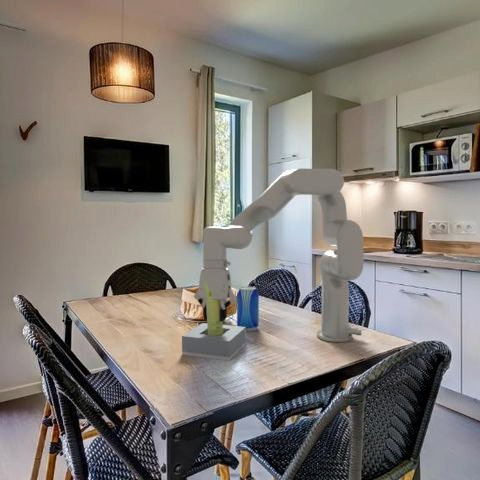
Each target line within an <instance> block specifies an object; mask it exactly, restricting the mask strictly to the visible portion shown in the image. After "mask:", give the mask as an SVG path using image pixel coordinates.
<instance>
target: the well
mask: <svg viewBox="0 0 480 480" xmlns="http://www.w3.org/2000/svg"><path fill="white" fill-rule="evenodd" d="M246 332H247V331H246V327H240V326H237V325H228V324H223V335H222V336H213V335H208V328H207V322H202V323H200V324H199V325H198V326H197V325H196V326H195V327H194V328H192V329H191V330H189V331H188V332H186V333H184V334H183V335H182V336H181V355H182V356H188V357H190V356H191V357H197V358H203V359H204V358H206V359H214V360H220V361H221V360H222V361H229V362H230V361H231V360H232V359H233V357H235V355H237V353H239V352H240V351H241V350H242V349H243V348H244V347H245V345H246V343H247V342H246V339H247V337H246V335H247V333H246Z"/></svg>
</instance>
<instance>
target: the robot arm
mask: <svg viewBox="0 0 480 480" xmlns="http://www.w3.org/2000/svg"><path fill="white" fill-rule="evenodd" d="M344 184H345V178H344V175H343V174H342V173H341V172H340V171H338V169H334V168H302V167H301V168H294V169H291V170H286V171H285V172H283V173H282V174H281V175H279V176H278V177H277V178H276V180H274V181H273V182H272V183H271V184H270V185H269V186H268V187H267V189H265V190H264V191H263V192H262V194H260V196H258V197H257V198H256V199H255V200H254V201H253V202H251V203H250V204H249V205H248V206H247V207H245V208H244V209H243V210H242V211H240V213H238V214H237V215H236V216H235V217H234V218H233V219H232V220H231V221H230V222H229V223H228V224H227V225H226V226H225V227H224V226H206V227H204V228H203V232H202V233H203V234H202V237H203V238H202V243H203V244H202V245H203V247H202V252H203V253H202V255H203V257H202V258H203V259H202V260H203V261H202V263H203V265H202V268H201V270H200V275H199V283H198V284H199V285H198V290H197V291H196V292H195V294H193V298H194V299H195V300H196V301H198V303H199V304H200V306H201V308H202V312H203V313H202V316H203V317H204V318H203V320H204V321H207V310H206V297H205V287H204V281H206V283H207V284H208V287H209V289H210V293H211V295H212V298H213V299H214V300H220V303H221V310H220V321H221V322H223V323H224V321H226V319H227V317H228V314H227V312H228V310H227V309H228V307H230V305H231V304H233V302H236V301H237V296H236V295H235V294H234V292H233V291H232V279H231V272H230V269H229V268H227V267H230V266H231V262H230V261H228V259H227V249H233V250H243V249H246V248H248V247H249V246H250V245H251V243H252V240H253V236H252V233H251V232H252V231H253V230H254V229H255V228H257V227H258V226H260V225H261V224H263V223H265V222H268V221H270V220H271V219H273V218H275V217H277V215H279V213H280V212H281V211H282V210H283V209H284V208H285V207H286V206H287V205H288V204H289V203H290V202H291V201H292V200H293V199H294V198H295V197H296V196H302V195H306V196H309V195H311V196H312V195H313V196H314V197H315V198H316V200H317V202H318V203H319V204H320V208H321V220H322V221H321V222H322V225H321V226H322V240H323V241H324V243H325V244H326V245H328V246H332V247H336V248H337V249H330V250H327V251H325V252H324V253H323V254H322V256H321V257H320V260H319V271H320V277H321V279H320V280H321V318H320V319H321V321H320V323H321V324H320V325H321V326H320V327H321V329H319V330H318V331H317V332H316V336H317V338H319V339H320V340H322V341H326V342H331V343H333V342H334V343H344V342H345V343H346V342H349V341H352V339H353V336H354V335H356V336H362V329H359V328H356V327H354V328H353V327H350V326H351V325H350V323H349V311H350V310H349V308H350V307H349V305H350V304H349V303H350V302H349V301H350V287H349V281H355V280H357V279H358V278H359V277H361V274H362V273H363V269H364V261H365V259H364V257H365V256H364V235H363V231H362V228H361V227H360V225H359V224H358V223H357V222H356V221H353V220H350V219H348V214H347V204H346V199H345V197H344V195H343V194H342V192H341V191H342V189H343V187H344V186H345V185H344ZM228 299H229V300H228Z"/></svg>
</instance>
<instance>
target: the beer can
mask: <svg viewBox="0 0 480 480" xmlns="http://www.w3.org/2000/svg"><path fill="white" fill-rule="evenodd" d="M236 298H237V299H236V326H240V327H246V332H254V331H256V330H257V328H258V327H259V326H260V325H259V321H260V320H259V310H260V309H259V308H260V307H259V303H260V301H259V300H260V299H259V298H260V295H259V292H258V290H257V287H256V286H247V285H246V286H240V287H239V290H238V291H237V294H236Z"/></svg>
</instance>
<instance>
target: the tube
mask: <svg viewBox="0 0 480 480" xmlns="http://www.w3.org/2000/svg"><path fill="white" fill-rule="evenodd" d="M204 287H205V297H206V310H207V320H206V321H207V322H206V323H207V328H208V335H213V336H222V335H223V325H224V321H223V322H221V321H220V310H221V303H220V300H214V299H213V298H212V295H211V293H210V289H209V287H208V284H207V283H206V281H204Z"/></svg>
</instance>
